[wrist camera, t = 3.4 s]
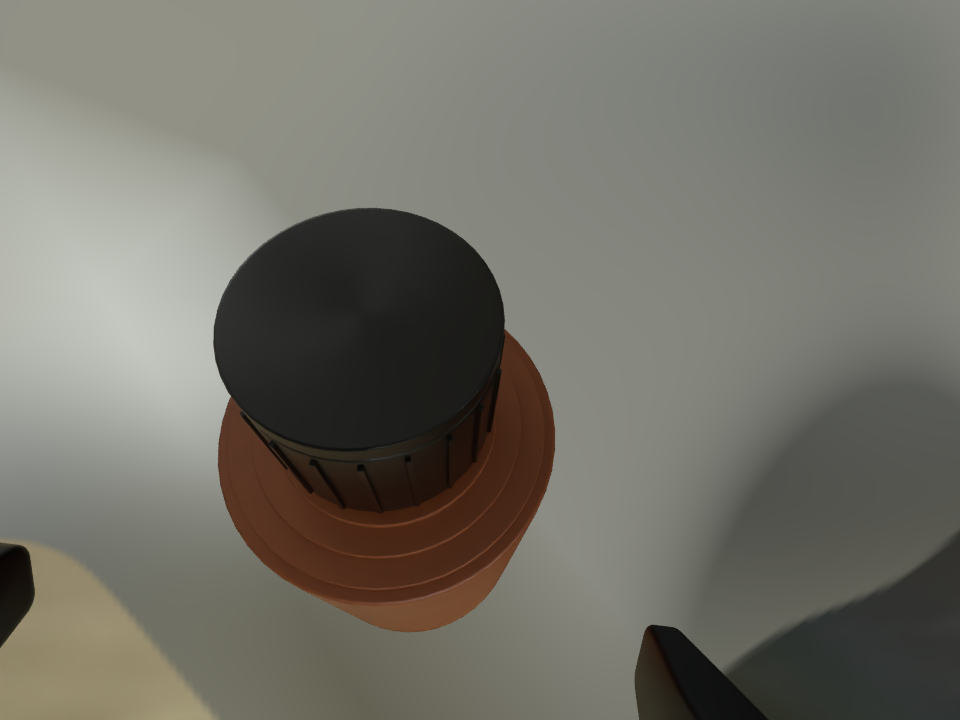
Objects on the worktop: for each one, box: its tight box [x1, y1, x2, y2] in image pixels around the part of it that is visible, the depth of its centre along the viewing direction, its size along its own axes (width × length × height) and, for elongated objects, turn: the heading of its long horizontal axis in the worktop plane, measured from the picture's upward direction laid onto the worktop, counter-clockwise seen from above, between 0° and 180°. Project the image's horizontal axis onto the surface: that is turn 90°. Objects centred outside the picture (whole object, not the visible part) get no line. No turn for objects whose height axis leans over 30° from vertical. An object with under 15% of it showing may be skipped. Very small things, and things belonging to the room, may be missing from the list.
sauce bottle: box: [218, 329, 555, 632], centre depth 13 cm, size 7×7×12 cm
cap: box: [213, 208, 505, 514], centre depth 9 cm, size 4×4×3 cm
